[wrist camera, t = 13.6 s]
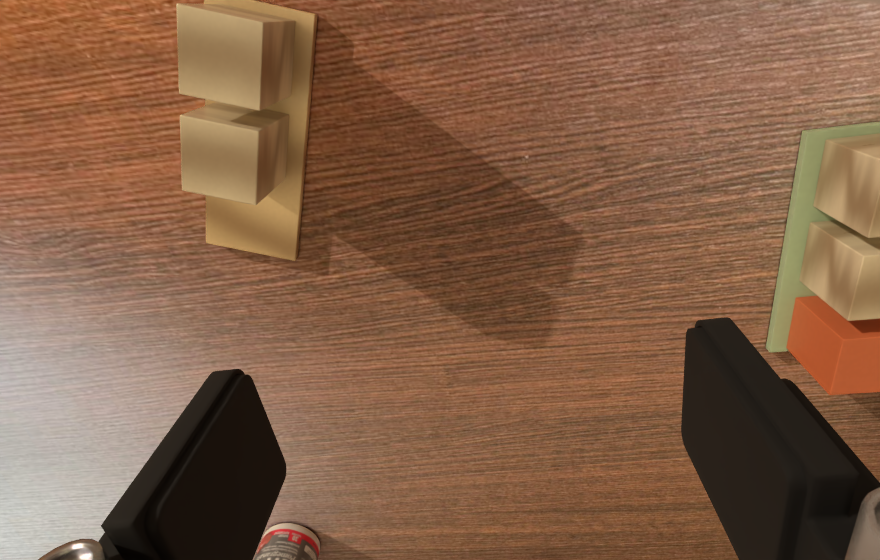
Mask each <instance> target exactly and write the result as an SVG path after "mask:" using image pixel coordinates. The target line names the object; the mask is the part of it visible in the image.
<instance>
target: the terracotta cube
mask: <svg viewBox="0 0 880 560" xmlns="http://www.w3.org/2000/svg"><path fill="white" fill-rule="evenodd" d="M786 348H787V349H788V350H789V352H790V353H791V354H792V355H793V356H794V357H795V358H796V359H797V360H798V361H799V362H800V363H801V365H802V366H803V367H804V368H805V369H806V370H807V371H808V372H809V373H810V374H811V375H812V376H813V378H814V379H815V380H816V381H817V382H818V383H819V384H820V385H821V386H822V387H823V388H824V389H825V391H826V392H827V393H828V394H829V395H839V394H854V393H869V392H880V319H867V320H855V321H847V320H846V319H845V318H844V317H842V316H841V315H840V314H839V313H838V312H836V311H835V310H834V309H833V308H832V307H830V306H829V305H828V304H827V303H826V302H824V301H823V300H822V299H821V298H820V297H818V296H807V297H796V299H795V304H794V310H793V315H792V320H791V325H790V331H789V336H788V341H787V347H786Z"/></svg>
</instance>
